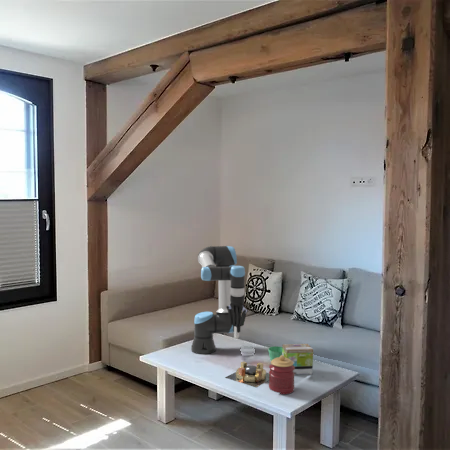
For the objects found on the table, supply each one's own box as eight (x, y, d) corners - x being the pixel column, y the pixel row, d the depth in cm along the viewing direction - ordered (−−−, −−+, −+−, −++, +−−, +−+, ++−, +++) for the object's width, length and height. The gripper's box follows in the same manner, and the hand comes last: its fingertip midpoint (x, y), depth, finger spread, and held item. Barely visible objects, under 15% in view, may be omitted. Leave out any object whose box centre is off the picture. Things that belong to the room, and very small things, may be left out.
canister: (296, 394, 240) (297, 360, 239) (271, 395, 239) (271, 360, 238) (291, 383, 253) (292, 350, 252) (266, 384, 252) (267, 351, 251)
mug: (278, 370, 271) (278, 353, 270) (264, 366, 277) (264, 349, 277) (293, 364, 281) (294, 347, 280) (280, 359, 288) (280, 343, 287)
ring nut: (248, 384, 249) (249, 374, 248) (230, 374, 261) (230, 364, 261) (271, 377, 258) (271, 367, 258) (253, 368, 270) (253, 358, 270)
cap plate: (224, 379, 258) (224, 368, 257) (246, 368, 274) (246, 357, 273) (256, 389, 246) (256, 377, 245) (276, 377, 262) (277, 366, 261)
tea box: (286, 376, 263) (286, 349, 262) (281, 369, 273) (281, 343, 271) (312, 375, 265) (313, 348, 264) (306, 368, 275) (307, 342, 274)
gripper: (251, 295, 259) (250, 338, 261) (231, 291, 267) (231, 333, 269) (243, 298, 253) (242, 342, 255) (223, 294, 261) (222, 336, 263)
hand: (236, 337), depth 262 cm, fingers closed
